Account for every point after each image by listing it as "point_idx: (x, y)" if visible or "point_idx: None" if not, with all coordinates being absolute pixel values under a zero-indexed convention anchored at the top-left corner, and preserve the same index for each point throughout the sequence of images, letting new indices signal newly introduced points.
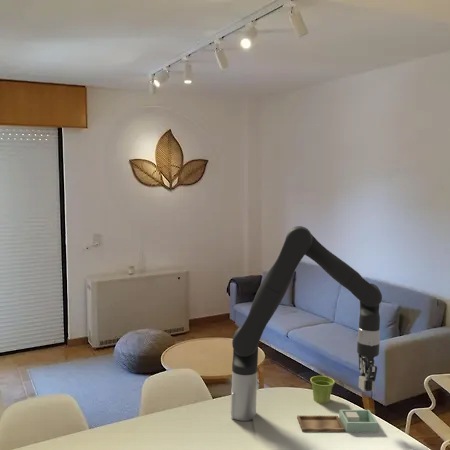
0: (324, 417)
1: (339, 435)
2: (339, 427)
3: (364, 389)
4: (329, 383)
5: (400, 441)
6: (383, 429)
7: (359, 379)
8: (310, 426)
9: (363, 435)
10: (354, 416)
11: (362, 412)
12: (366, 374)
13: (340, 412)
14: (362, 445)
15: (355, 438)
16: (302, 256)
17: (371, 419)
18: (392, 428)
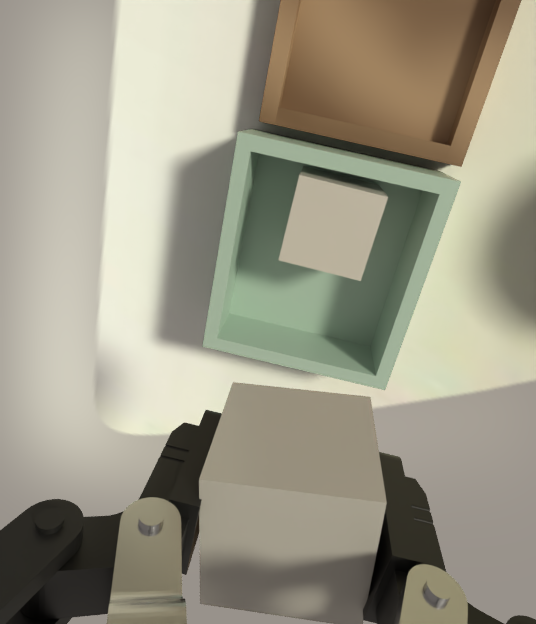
0: (482, 45)
1: (242, 66)
2: (323, 109)
3: (228, 406)
4: None
5: (132, 381)
6: (259, 372)
7: (358, 466)
8: None
9: (216, 229)
10: (296, 231)
11: (386, 337)
12: (113, 597)
13: (429, 173)
14: (108, 161)
15: (190, 160)
16: None
17: (298, 346)
18: None
